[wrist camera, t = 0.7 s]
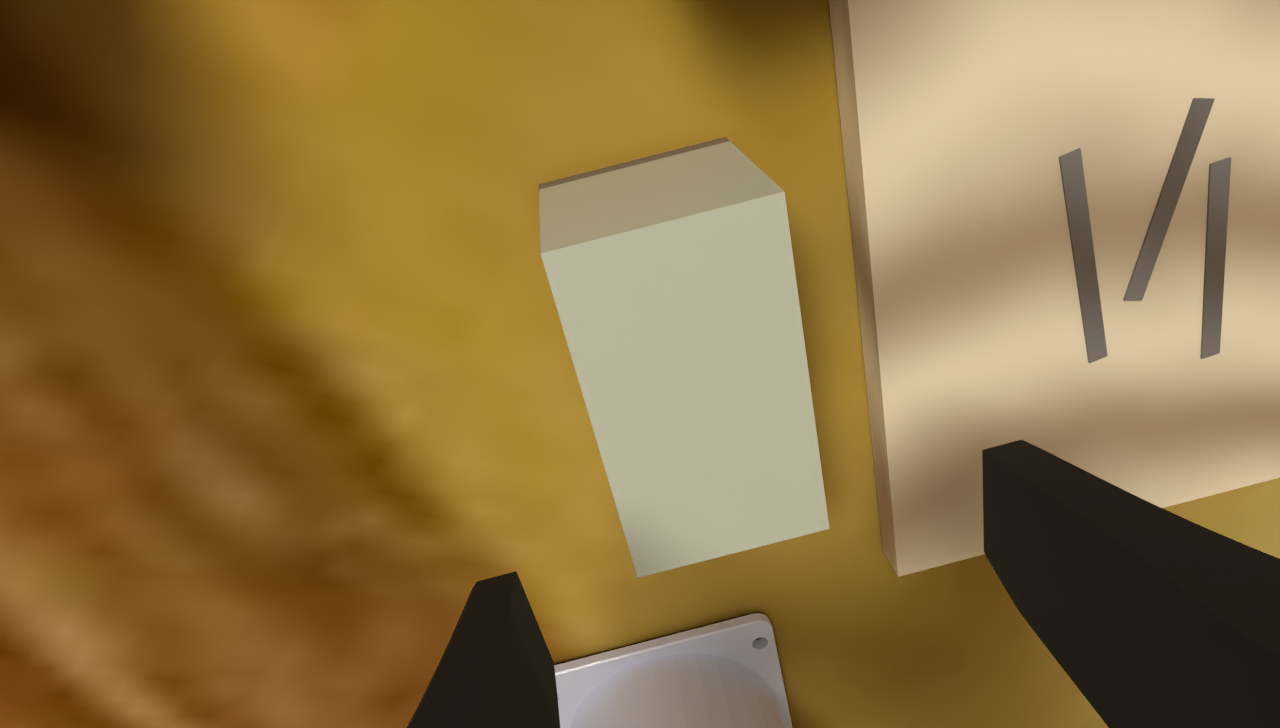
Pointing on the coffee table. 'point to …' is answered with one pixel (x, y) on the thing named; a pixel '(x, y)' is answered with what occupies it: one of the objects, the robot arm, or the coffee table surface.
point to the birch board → (1061, 247)
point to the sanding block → (688, 350)
